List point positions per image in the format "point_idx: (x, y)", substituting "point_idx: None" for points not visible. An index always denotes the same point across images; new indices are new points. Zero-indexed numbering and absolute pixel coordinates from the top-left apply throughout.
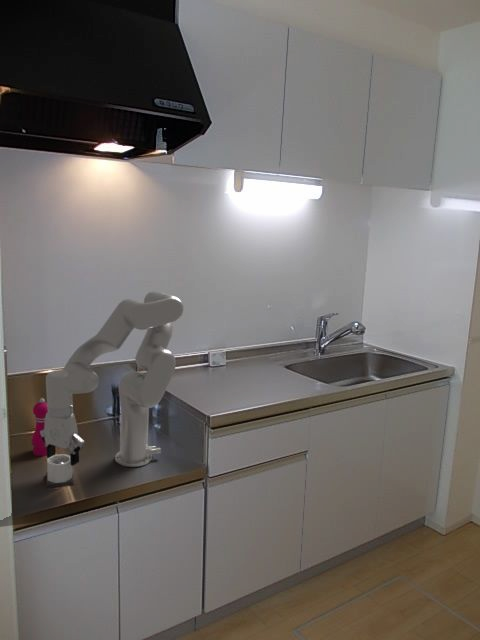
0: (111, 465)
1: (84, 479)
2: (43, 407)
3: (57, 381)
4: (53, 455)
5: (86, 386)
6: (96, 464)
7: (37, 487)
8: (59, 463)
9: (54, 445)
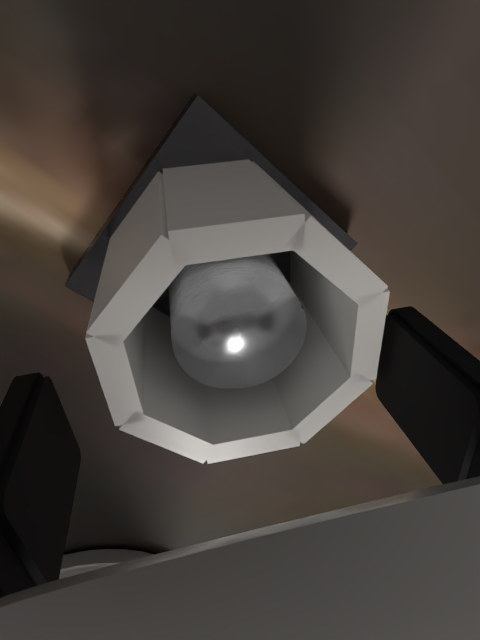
0: (121, 522)
1: (84, 364)
2: None
3: None
4: (375, 369)
5: None
6: (193, 485)
7: (263, 35)
8: (224, 325)
9: (347, 514)
